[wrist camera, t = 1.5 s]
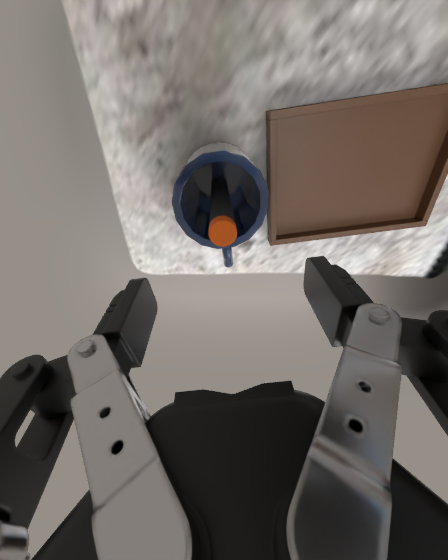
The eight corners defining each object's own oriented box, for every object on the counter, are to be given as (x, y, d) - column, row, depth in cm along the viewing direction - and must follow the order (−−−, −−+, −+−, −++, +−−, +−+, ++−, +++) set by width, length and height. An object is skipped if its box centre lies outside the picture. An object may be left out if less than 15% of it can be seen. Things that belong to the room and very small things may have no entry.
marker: (209, 177, 28) (206, 222, 16) (226, 175, 28) (235, 218, 16) (212, 194, 29) (210, 248, 17) (228, 192, 29) (238, 245, 17)
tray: (266, 111, 25) (269, 110, 23) (469, 80, 24) (488, 77, 22) (267, 239, 34) (270, 245, 32) (415, 220, 33) (425, 225, 31)
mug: (175, 148, 27) (160, 159, 19) (252, 136, 26) (267, 143, 19) (196, 245, 34) (191, 279, 27) (257, 237, 34) (269, 269, 26)
